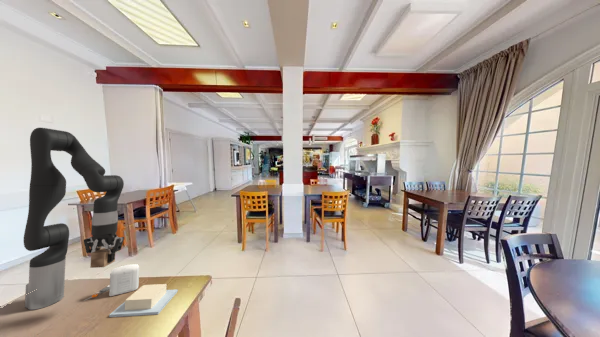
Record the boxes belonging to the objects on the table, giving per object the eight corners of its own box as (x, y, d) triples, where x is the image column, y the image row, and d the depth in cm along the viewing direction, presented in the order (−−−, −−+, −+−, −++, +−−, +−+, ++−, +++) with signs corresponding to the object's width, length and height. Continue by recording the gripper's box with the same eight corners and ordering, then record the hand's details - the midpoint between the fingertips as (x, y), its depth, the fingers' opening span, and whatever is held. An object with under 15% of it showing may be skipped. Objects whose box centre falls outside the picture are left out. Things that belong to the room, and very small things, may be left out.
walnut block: (90, 267, 74) (91, 252, 74) (102, 261, 79) (103, 247, 79) (103, 267, 74) (104, 252, 75) (115, 261, 79) (115, 247, 80)
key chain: (111, 285, 91) (111, 282, 91) (118, 286, 91) (118, 283, 91) (77, 304, 78) (77, 300, 78) (84, 304, 78) (85, 301, 78)
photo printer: (139, 285, 91) (140, 260, 91) (137, 290, 87) (138, 264, 88) (110, 292, 85) (111, 266, 86) (107, 298, 82) (108, 270, 82)
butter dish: (109, 317, 71) (109, 304, 71) (137, 293, 85) (137, 282, 85) (158, 314, 73) (158, 301, 73) (177, 291, 87) (178, 281, 87)
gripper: (76, 224, 72) (74, 267, 72) (115, 224, 74) (113, 266, 74) (95, 219, 80) (93, 258, 80) (130, 219, 82) (129, 257, 81)
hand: (103, 261), depth 77 cm, fingers closed on walnut block, 5 cm apart
